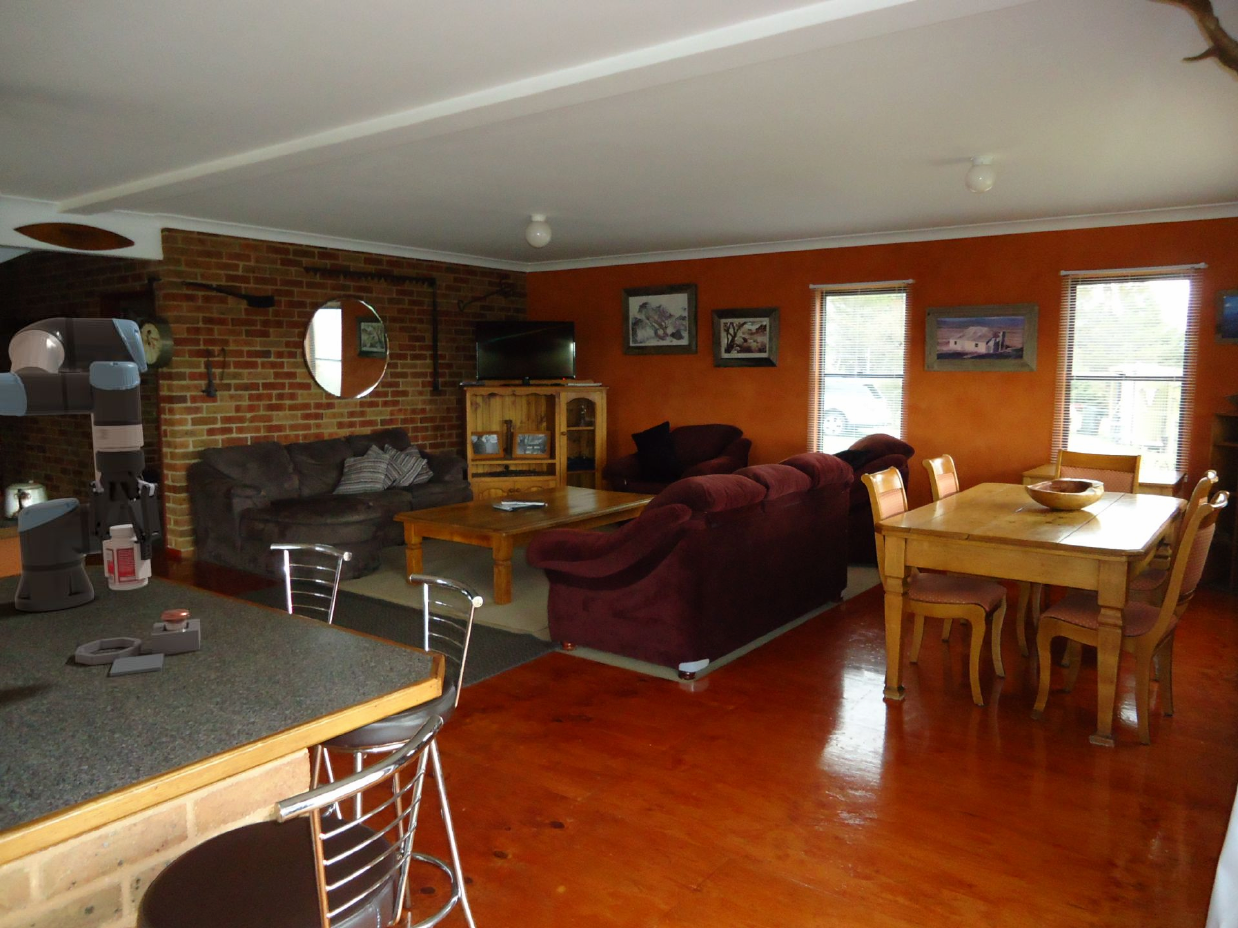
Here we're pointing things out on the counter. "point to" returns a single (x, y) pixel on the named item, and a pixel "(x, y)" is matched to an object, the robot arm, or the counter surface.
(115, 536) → the pill bottle
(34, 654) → the counter surface
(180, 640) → the housing
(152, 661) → the mat
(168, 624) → the plunger
